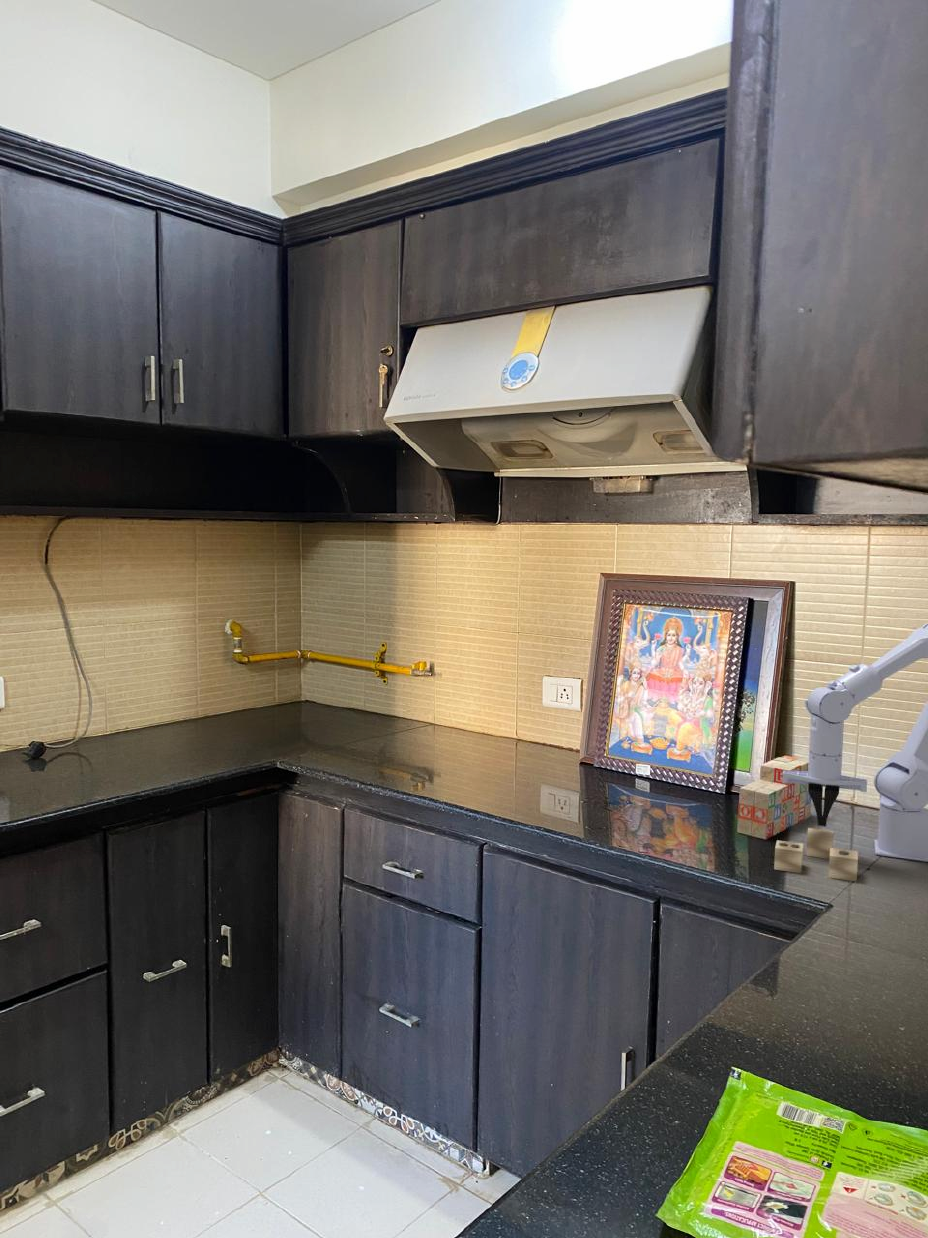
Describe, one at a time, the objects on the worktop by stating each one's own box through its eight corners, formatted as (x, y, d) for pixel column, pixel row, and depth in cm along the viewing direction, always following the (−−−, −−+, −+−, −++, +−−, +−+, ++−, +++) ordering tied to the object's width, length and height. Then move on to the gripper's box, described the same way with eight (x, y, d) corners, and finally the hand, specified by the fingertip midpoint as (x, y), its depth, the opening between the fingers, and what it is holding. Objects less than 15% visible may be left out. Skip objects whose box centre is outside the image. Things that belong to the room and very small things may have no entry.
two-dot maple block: (802, 865, 166) (803, 843, 166) (800, 873, 162) (802, 851, 162) (775, 861, 168) (777, 839, 168) (774, 869, 164) (775, 847, 164)
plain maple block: (832, 851, 174) (833, 831, 173) (832, 859, 170) (833, 838, 169) (807, 848, 175) (808, 828, 175) (806, 856, 171) (807, 835, 171)
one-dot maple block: (856, 873, 163) (857, 850, 163) (856, 882, 159) (857, 858, 158) (829, 869, 165) (830, 846, 164) (828, 878, 161) (829, 855, 160)
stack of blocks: (766, 841, 179) (769, 779, 178) (736, 833, 183) (739, 772, 182) (810, 816, 195) (814, 759, 194) (782, 810, 199) (785, 754, 198)
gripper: (868, 752, 171) (864, 823, 173) (785, 744, 177) (782, 813, 178) (868, 760, 165) (864, 834, 166) (783, 752, 171) (779, 824, 172)
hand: (821, 824), depth 172 cm, fingers closed
